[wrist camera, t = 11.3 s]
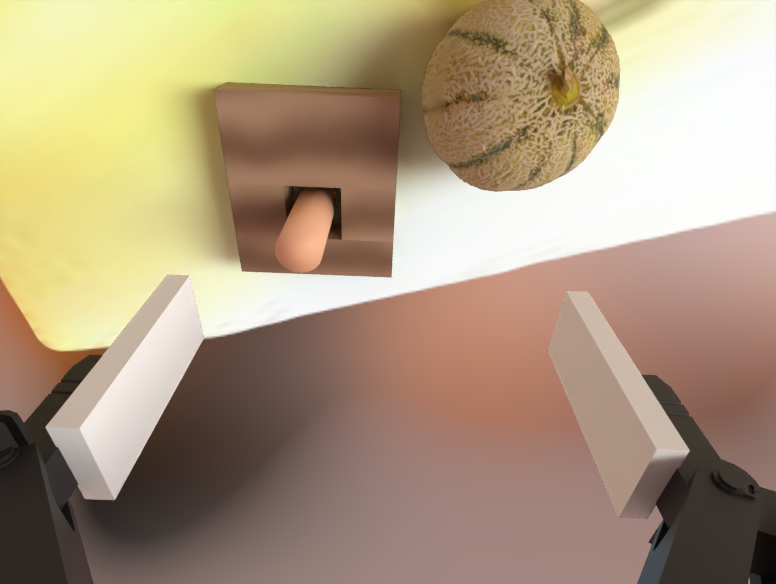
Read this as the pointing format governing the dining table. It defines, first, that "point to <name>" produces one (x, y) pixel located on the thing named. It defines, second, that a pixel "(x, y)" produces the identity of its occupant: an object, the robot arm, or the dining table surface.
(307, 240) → the peg
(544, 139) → the cantaloupe
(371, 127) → the socket block
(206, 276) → the dining table surface
